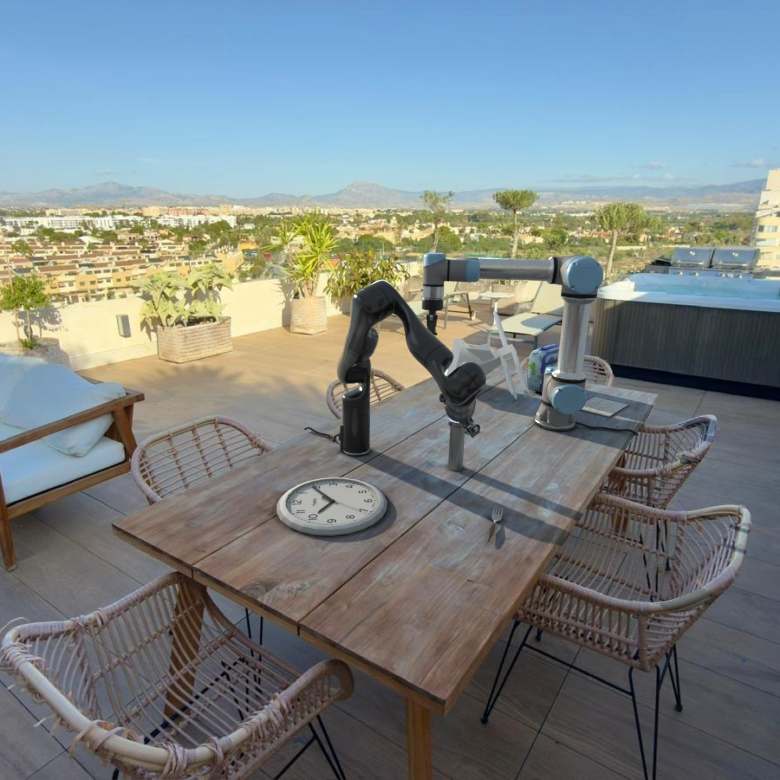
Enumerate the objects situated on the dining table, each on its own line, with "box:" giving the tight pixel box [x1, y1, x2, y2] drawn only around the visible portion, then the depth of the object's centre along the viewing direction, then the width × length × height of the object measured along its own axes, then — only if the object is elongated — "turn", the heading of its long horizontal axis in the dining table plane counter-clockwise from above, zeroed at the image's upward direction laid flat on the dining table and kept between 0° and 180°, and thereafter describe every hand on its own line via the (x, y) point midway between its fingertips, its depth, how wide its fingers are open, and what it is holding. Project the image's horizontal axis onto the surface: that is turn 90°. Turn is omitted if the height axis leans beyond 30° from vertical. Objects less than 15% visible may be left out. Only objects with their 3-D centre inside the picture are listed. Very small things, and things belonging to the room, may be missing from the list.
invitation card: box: [580, 396, 629, 418], centre depth 226 cm, size 21×1×15 cm
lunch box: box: [526, 343, 560, 394], centre depth 247 cm, size 26×11×21 cm, turn 134°
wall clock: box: [276, 476, 388, 537], centre depth 142 cm, size 30×2×30 cm
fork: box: [487, 505, 504, 543], centre depth 133 cm, size 3×16×2 cm, turn 160°
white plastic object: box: [445, 310, 531, 400], centre depth 245 cm, size 37×45×31 cm
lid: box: [448, 417, 464, 428], centre depth 162 cm, size 6×6×2 cm
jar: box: [447, 426, 466, 472], centre depth 164 cm, size 5×5×16 cm
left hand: (458, 420), depth 148 cm, fingers open, 8 cm apart
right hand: (430, 357), depth 190 cm, fingers open, 13 cm apart
